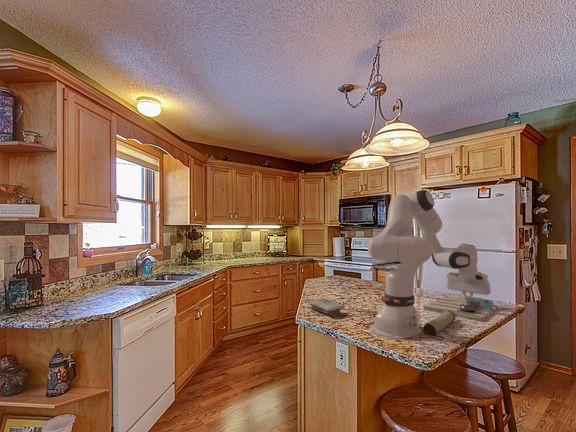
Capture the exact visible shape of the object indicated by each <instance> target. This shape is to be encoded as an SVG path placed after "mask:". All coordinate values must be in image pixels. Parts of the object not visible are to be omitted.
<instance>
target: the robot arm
mask: <svg viewBox="0 0 576 432" xmlns="http://www.w3.org/2000/svg"><path fill="white" fill-rule="evenodd" d="M434 206H435V199H434V197H433V195H432V193H431V191H429V190H426V189H422V190H421V189H420V190H418V191H416V192H413V193H411V194H408V195H406V194H396V195H394V196H393V197H392V198H391V199H390V202H389V205H388V211H387V218H386V225H385V227H384V229H383V230H382V231H381V232H380V233H378V234H377V235H375V236H373V237H371V238H370V239H369V241H368V244H367V252H368V254H369V256H370V258H372V259H374V260H376V261H377V260H378V261H383V262H399V263H400V266H399V267H397V268H394V269H392V270H390V271H388V272H387V274H386V275H385V293H384V295H383V296H380V302H383V304H382V305H381V306H380V309H379V310H378V312H377V313H376V315H375V317H374V324H372V325H371V326H370V327H369V328H368V332H369V331H370V332H369V333H371V332H372V334H373V333H374V334H373V335H376V334H377V336H379V335H380V336H379V337H382V336H383V337H382V338H386V337H387V339H393V340H399V341H400V340H403V339H407V338H410V337H413V336H417V335H420V334H423V329H421V328H420V325H419V323H420V322H419V312H418V310H417V308H416V307H415V299H416V298H415V295H414V281H415V280H414V279H415V276H416V273H417V271H418V270H419V268H420V267H421V266H422V265H423V264H424V263H426V262H427V261H428V260H429V259H432V262H433V263H434V264H435V266H437V267H443V268H448V269H453V270H458V272H452V271H451V272H448V273H447V274H446V279H447V280H446V281H447V282H446V288H447V290H452V291H459V292H462V295H463V297H464V300H467V297H473V295H474V294H477V295H484V296H488V295H490V294H491V291H492V290H491V284H490V281H489V280H488V279H489V276H488V274H486V273H482V272H480V271H478V265H477V263H478V257H479V255H478V250H477V247H476V246H475V245H472V244H467V243H460V244H459V245H458V246H457V247H455V248H453V249H448V248H447V249H446V248H444V247H443V246H442V245H441V243H440V241H439V240H438V237H437V234H438V233H439V232H440V231H441V230H442V227H443V222H442V218H441V217H440V216H439V213H438V212H437V211H436V209H435V208H434ZM414 221H415V223H416V224H417V226H418V227H419V229H420V232H421V235H422V237H421V236H417V235H415V236H414V235H409V234H410V232H411V231H412V230H413V227H414ZM467 293H468V294H469V296H468V295H467Z"/></svg>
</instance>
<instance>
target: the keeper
mask: <svg viewBox="0 0 576 432" xmlns="http://www.w3.org/2000/svg"><path fill="white" fill-rule="evenodd" d="M467 300H471V301H477V302H480V303H484V310H488V311H492V310H493V307H492V305H493V300H491V299H484V298H479V297H478V298H477V297H473V296H472V297H469V296H468V297H467Z"/></svg>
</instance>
